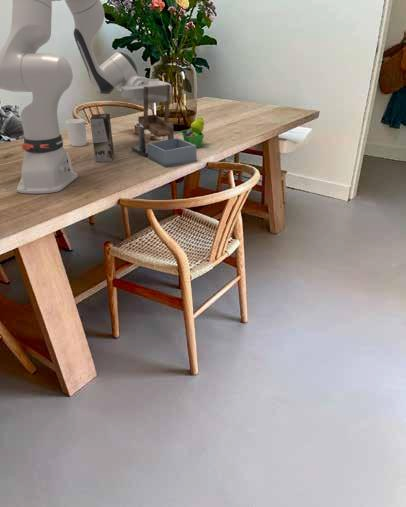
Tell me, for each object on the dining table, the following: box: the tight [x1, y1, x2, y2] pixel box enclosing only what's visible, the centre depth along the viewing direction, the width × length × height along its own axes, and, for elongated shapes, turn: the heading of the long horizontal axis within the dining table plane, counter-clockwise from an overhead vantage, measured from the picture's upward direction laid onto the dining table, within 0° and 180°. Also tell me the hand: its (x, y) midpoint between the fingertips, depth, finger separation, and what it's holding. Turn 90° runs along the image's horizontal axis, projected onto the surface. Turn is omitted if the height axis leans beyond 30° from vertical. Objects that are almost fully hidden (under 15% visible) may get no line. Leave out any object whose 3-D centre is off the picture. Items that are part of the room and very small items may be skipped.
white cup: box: [65, 118, 88, 147], centre depth 182 cm, size 8×8×10 cm
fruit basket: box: [181, 116, 205, 148], centre depth 180 cm, size 11×9×11 cm
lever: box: [137, 83, 174, 138], centre depth 164 cm, size 15×10×17 cm
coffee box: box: [89, 113, 115, 163], centre depth 162 cm, size 9×6×16 cm
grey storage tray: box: [146, 137, 198, 168], centre depth 163 cm, size 14×14×6 cm
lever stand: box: [131, 122, 175, 158], centre depth 172 cm, size 11×15×11 cm
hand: (155, 93), depth 160 cm, fingers closed, pressing on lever
